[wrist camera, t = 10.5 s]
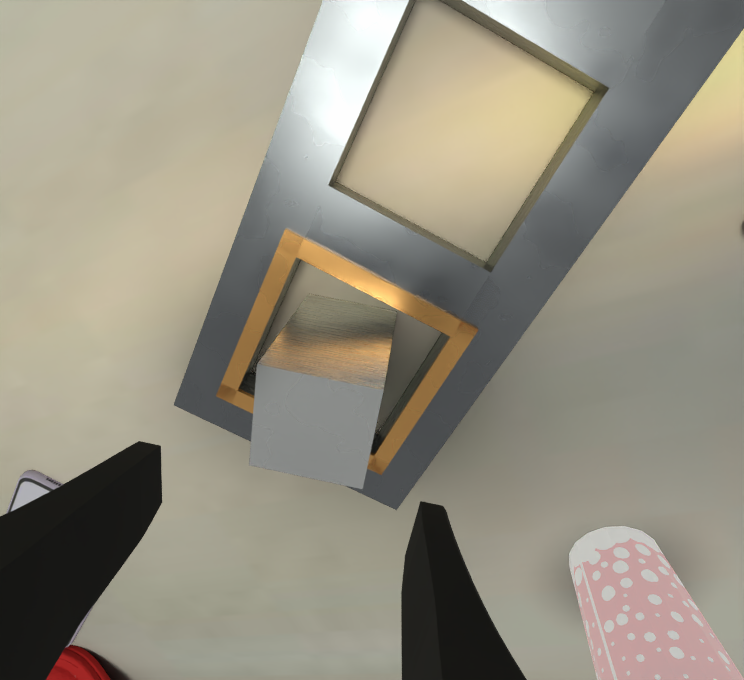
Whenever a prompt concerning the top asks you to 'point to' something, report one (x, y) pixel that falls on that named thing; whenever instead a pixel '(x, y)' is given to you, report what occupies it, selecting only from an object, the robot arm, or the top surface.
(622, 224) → the top surface
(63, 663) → the tracker holder
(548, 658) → the top surface
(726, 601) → the top surface
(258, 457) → the block
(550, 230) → the rail
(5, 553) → the robot arm
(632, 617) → the beverage cup
